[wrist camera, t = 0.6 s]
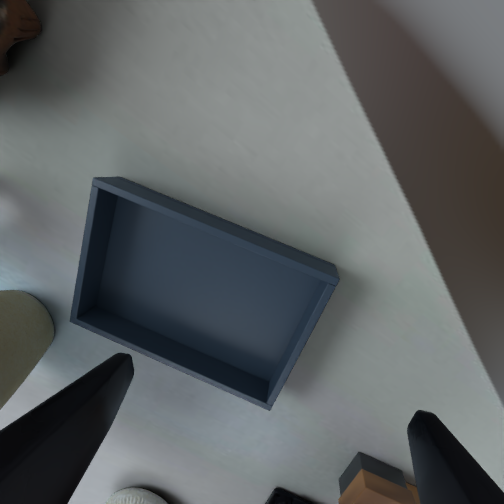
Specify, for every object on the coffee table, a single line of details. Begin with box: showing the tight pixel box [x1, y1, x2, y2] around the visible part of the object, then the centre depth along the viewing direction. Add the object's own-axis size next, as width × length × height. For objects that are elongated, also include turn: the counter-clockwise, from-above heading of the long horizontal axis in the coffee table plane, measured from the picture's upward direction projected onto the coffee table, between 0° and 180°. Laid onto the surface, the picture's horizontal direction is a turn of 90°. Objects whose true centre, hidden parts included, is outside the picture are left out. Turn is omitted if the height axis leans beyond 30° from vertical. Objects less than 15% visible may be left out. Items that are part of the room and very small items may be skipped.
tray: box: [70, 177, 340, 411], centre depth 23 cm, size 13×19×3 cm
